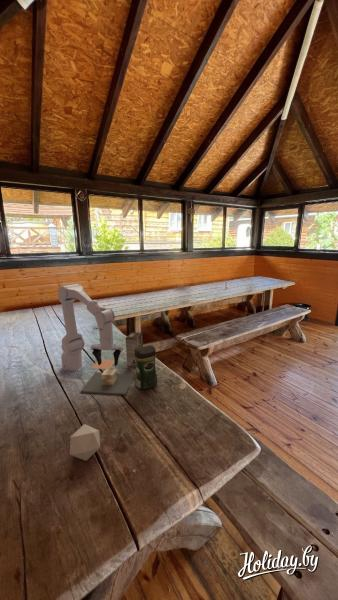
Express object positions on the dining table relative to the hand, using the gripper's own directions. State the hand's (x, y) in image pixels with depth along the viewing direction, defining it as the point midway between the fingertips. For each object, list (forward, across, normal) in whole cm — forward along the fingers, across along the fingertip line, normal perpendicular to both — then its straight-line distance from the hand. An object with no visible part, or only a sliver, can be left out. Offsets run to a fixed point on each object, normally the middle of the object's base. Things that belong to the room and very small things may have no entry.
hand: (108, 364), depth 112 cm
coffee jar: (+10, -17, -1) cm, 20 cm away
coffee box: (+10, -7, -20) cm, 24 cm away
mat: (+9, 0, 0) cm, 9 cm away
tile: (+9, +9, -16) cm, 21 cm away
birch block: (+8, 0, 0) cm, 9 cm away
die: (+10, -6, +38) cm, 40 cm away
